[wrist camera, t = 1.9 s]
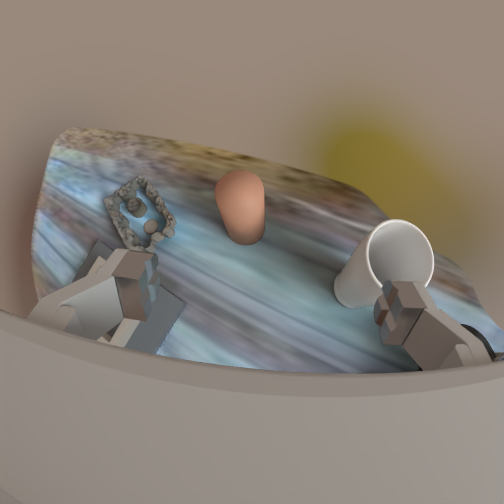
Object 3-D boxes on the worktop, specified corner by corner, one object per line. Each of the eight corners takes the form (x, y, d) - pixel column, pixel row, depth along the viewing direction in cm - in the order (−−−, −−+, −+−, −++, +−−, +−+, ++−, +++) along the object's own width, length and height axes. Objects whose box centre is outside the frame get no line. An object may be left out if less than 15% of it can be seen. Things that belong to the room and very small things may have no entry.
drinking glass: (319, 271, 37) (351, 229, 22) (366, 256, 37) (416, 209, 23) (337, 322, 35) (382, 311, 20) (383, 303, 35) (446, 281, 21)
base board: (140, 378, 34) (126, 381, 30) (63, 308, 37) (47, 305, 33) (186, 303, 36) (177, 299, 32) (103, 242, 39) (89, 233, 35)
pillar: (252, 252, 38) (246, 222, 28) (219, 233, 39) (205, 199, 29) (271, 220, 39) (273, 183, 29) (240, 203, 40) (232, 163, 30)
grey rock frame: (184, 231, 39) (176, 220, 36) (141, 263, 38) (128, 255, 35) (150, 180, 42) (141, 166, 38) (111, 208, 41) (99, 197, 37)
